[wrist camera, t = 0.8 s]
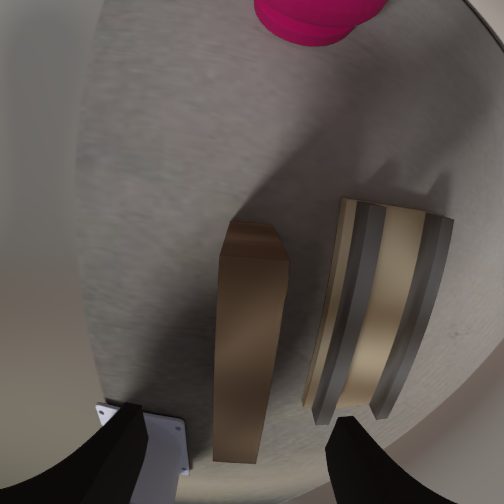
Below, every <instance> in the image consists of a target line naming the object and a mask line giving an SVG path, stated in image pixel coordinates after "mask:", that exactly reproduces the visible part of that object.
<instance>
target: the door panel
mask: <svg viewBox="0 0 504 504" xmlns="http://www.w3.org/2000/svg"><path fill="white" fill-rule="evenodd" d="M289 265H290V260H289V258H288V256H287V254H286V252H285V250H284V247H283V245H282V243H281V241H280V239H279V237H278V235H277V232H276V230H275V228H274V226H273V225H271V224H260V223H249V222H237V221H230V224H229V227H228V230H227V233H226V237H225V240H224V243H223V246H222V249H221V253H220V257H219V274H218V292H217V312H216V335H215V362H214V399H213V461H216V462H229V463H247V464H256V460H257V455H258V451H259V446H260V441H261V436H262V430H263V425H264V420H265V415H266V409H267V404H268V398H269V393H270V387H271V382H272V376H273V370H274V364H275V358H276V352H277V346H278V340H279V333H280V327H281V320H282V314H283V307H284V300H285V297H287V291H288V284H289V276H288V272H289Z"/></svg>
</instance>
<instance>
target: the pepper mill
mask: <svg viewBox="0 0 504 504" xmlns="http://www.w3.org/2000/svg"><path fill="white" fill-rule="evenodd" d="M386 2H387V0H254V8H255V11H256V15H257V16H258V18H259V20H260V21H261V23H262V24H263V25H264V26H265V27H266V28H267V29H268V30H269V31H270V32H272V33H273V34H274V35H276V36H278V37H280V38H282V39H284V40H286V41H289V42H291V43H295V44H299V45H303V46H326V45H330V44H334V43H336V42H338V41H340V40H342V39H343V38H345V37H346V36H347V35H348V34H349V32H350V31H351V30H352V29H353V28H354V26H355V25H359V24H361V23H363V22H366V21H368V20H370V19H371V18H373V17H374V16H376V15H377V14H378V13H379V12H380V11H381V9H382V8H383V6H384V5H385V3H386Z"/></svg>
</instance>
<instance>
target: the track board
mask: <svg viewBox="0 0 504 504" xmlns="http://www.w3.org/2000/svg"><path fill="white" fill-rule="evenodd" d="M453 224H454V219H450V218H447V217H444V216H443V215H440V214H437V213H432V212H427V211H422V210H416V209H411V208H405V207H400V206H394V205H388V204H382V203H376V202H369V201H363V200H356V199H349V198H341V205H340V213H339V220H338V227H337V234H336V240H335V247H334V253H333V259H332V265H331V271H330V276H329V282H328V287H327V292H326V298H325V303H324V308H323V312H322V317H321V322H320V327H319V331H318V336H317V340H316V345H315V349H314V353H313V357H312V362H311V366H310V370H309V374H308V378H307V381H306V385H305V389H304V393H303V397H302V403H303V408H311V409H312V413H313V417H314V421H315V425H328V424H329V423H330V421H331V418H332V415H333V413H334V410H335V408H336V407H347V406H359V405H369V406H370V408H371V410H372V412H373V414H374V417H375V419H376V420H378V419H385V418H388V416H389V414H390V412H391V410H392V408H393V406H394V404H395V402H396V400H397V398H398V396H399V394H400V391H401V389H402V387H403V385H404V383H405V381H406V378H407V376H408V374H409V371H410V369H411V367H412V364H413V362H414V359H415V357H416V354H417V352H418V349H419V347H420V344H421V341H422V339H423V336H424V333H425V330H426V328H427V325H428V322H429V319H430V316H431V313H432V309H433V306H434V303H435V300H436V296H437V293H438V289H439V286H440V282H441V278H442V275H443V271H444V267H445V262H446V258H447V254H448V249H449V244H450V240H451V234H452V229H453Z"/></svg>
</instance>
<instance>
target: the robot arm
mask: <svg viewBox="0 0 504 504" xmlns="http://www.w3.org/2000/svg"><path fill="white" fill-rule="evenodd" d="M96 409H97V413H98V415H99V418H100V421H101V424H102V427H101V428H100V429H99V430H98V431H97V432H96V433H95V434H94V435H93V436H92V437H91V438H90V439H89V440H88V441H87V442H85V443H84V444H83V445H82V446H81V447H79V448H78V449H77V450H76V451H75V452H73V453H72V454H71V455H69V456H68V457H67V458H65V459H64V460H62V461H61V462H60V463H58V464H56V465H55V466H53V467H52V468H50V469H48V470H46V471H45V472H43V473H41V474H39V475H37V476H35V477H33V478H31V479H28V480H26V481H23V482H21V483H18V484H16V485H13V486H10V487H7V488H3V489H0V504H174V501H175V496H176V490H177V485H178V479H179V475H186V476H187V475H189V473H190V469H189V461H188V452H187V443H186V433H185V423H184V421H183V420H181V419H179V418H172V417H166V416H160V415H154V414H149V413H144V412H143V410H142V405H137V404H132V403H127V402H126V403H124V404H123V405H122V407H117V406H112V405H109V404H105V403H101V402H98V403H97V404H96ZM325 451H326V460H327V467H328V472H329V476H330V480H331V484H332V487H333V490H334V494H335V498H336V501H337V504H457V503H454V502H452V501H450V500H448V499H446V498H444V497H442V496H440V495H439V494H437V493H435V492H433V491H432V490H430V489H428V488H427V487H425V486H424V485H422V484H421V483H419V482H418V481H417V480H415V479H414V478H413V477H411V476H410V475H409V474H408V473H407V472H405V471H404V470H403V469H402V468H401V467H400V466H399V465H397V463H395V462H394V461H393V460H392V459H391V458H390V457H389V456H388V455H387V454H386V452H385V451H384V450H383V449H382V448H381V447H380V446H379V445H378V444H377V443H376V442H375V441H374V439H373V438H372V437H371V436H370V435H369V434H368V433H367V431H366V430H365V429H364V428H363V427H362V426H361V424H360V423H359V422H358V421H357V420H356V418H355V417H354V416H347V417H338V419H337V422H336V424H335V426H334V429H333V431H332V434H331V436H330V438H329V441H328V443H327V445H326V447H325Z"/></svg>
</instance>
